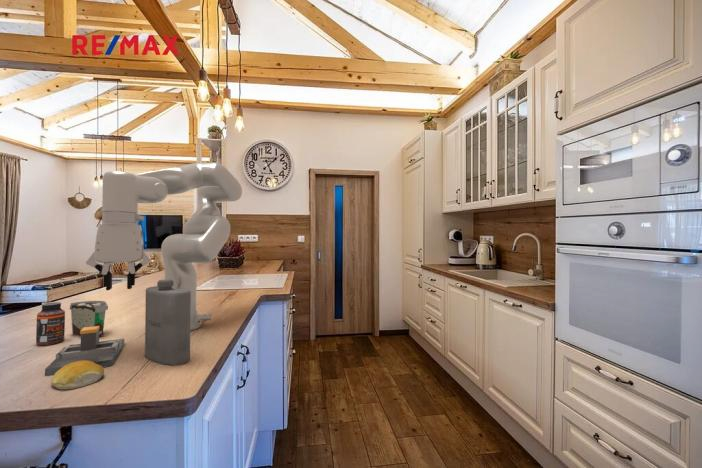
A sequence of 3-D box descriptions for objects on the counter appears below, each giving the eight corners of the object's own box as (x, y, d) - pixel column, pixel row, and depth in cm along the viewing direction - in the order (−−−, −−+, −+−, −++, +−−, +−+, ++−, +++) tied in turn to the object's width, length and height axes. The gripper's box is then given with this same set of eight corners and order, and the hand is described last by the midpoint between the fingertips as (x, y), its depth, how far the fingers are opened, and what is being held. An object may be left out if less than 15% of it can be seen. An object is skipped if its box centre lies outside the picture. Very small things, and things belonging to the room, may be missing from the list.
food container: (117, 333, 100) (117, 302, 100) (96, 339, 94) (96, 306, 94) (91, 329, 104) (91, 299, 104) (69, 335, 98) (69, 302, 98)
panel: (124, 343, 90) (124, 334, 90) (111, 365, 75) (112, 354, 75) (70, 350, 85) (70, 340, 85) (44, 375, 70) (45, 363, 70)
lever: (99, 348, 82) (99, 325, 82) (96, 352, 79) (96, 329, 79) (83, 350, 81) (83, 327, 81) (79, 354, 78) (80, 330, 78)
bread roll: (92, 369, 74) (93, 352, 74) (109, 379, 69) (109, 361, 69) (45, 383, 67) (45, 364, 67) (59, 395, 62) (59, 374, 62)
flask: (137, 355, 82) (138, 278, 82) (160, 349, 87) (161, 276, 87) (171, 368, 74) (172, 283, 74) (194, 360, 79) (195, 280, 79)
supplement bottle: (46, 347, 87) (47, 306, 87) (30, 345, 89) (30, 305, 89) (70, 340, 93) (70, 301, 93) (54, 338, 94) (54, 300, 94)
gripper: (158, 220, 90) (157, 284, 90) (84, 219, 82) (83, 289, 82) (156, 219, 84) (155, 289, 83) (74, 217, 76) (74, 293, 76)
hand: (119, 288), depth 83 cm, fingers open, 3 cm apart
